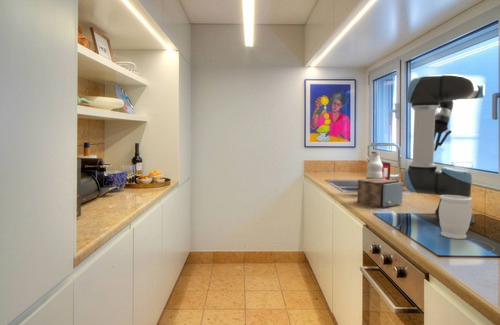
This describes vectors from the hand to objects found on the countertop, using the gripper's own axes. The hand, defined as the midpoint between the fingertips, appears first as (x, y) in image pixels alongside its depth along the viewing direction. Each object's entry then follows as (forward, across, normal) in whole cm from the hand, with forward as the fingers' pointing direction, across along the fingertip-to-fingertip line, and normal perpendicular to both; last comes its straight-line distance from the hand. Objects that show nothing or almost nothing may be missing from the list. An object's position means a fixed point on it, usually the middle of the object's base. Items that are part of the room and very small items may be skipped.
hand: (430, 155), depth 182 cm
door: (+33, +10, -2) cm, 34 cm away
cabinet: (+34, +18, -7) cm, 39 cm away
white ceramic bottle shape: (+24, +20, -30) cm, 43 cm away
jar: (+50, -8, +45) cm, 68 cm away
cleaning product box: (+14, +17, -50) cm, 55 cm away
